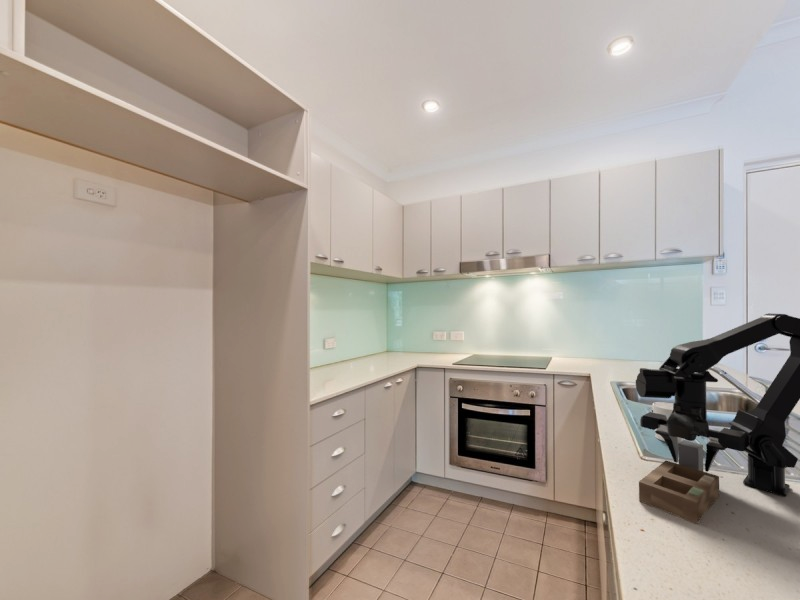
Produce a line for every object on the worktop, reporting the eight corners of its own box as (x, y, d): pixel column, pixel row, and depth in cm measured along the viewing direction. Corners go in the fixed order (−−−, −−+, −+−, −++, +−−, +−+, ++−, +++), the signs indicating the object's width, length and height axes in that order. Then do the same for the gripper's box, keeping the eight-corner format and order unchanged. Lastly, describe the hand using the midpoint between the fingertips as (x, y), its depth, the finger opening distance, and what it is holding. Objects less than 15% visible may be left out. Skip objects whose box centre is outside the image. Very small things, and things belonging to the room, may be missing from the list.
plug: (684, 473, 83) (683, 440, 83) (703, 479, 80) (702, 444, 81) (679, 477, 81) (678, 443, 81) (698, 484, 78) (698, 448, 78)
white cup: (671, 433, 108) (670, 401, 108) (693, 444, 100) (693, 409, 100) (646, 434, 108) (646, 402, 108) (666, 444, 100) (666, 410, 100)
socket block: (666, 477, 81) (665, 459, 81) (719, 495, 74) (719, 474, 74) (639, 500, 72) (638, 480, 72) (697, 524, 64) (696, 500, 64)
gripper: (630, 396, 84) (631, 461, 84) (737, 416, 69) (738, 495, 69) (648, 389, 90) (649, 449, 90) (748, 406, 75) (750, 478, 75)
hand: (691, 466), depth 81 cm, fingers open, 5 cm apart
